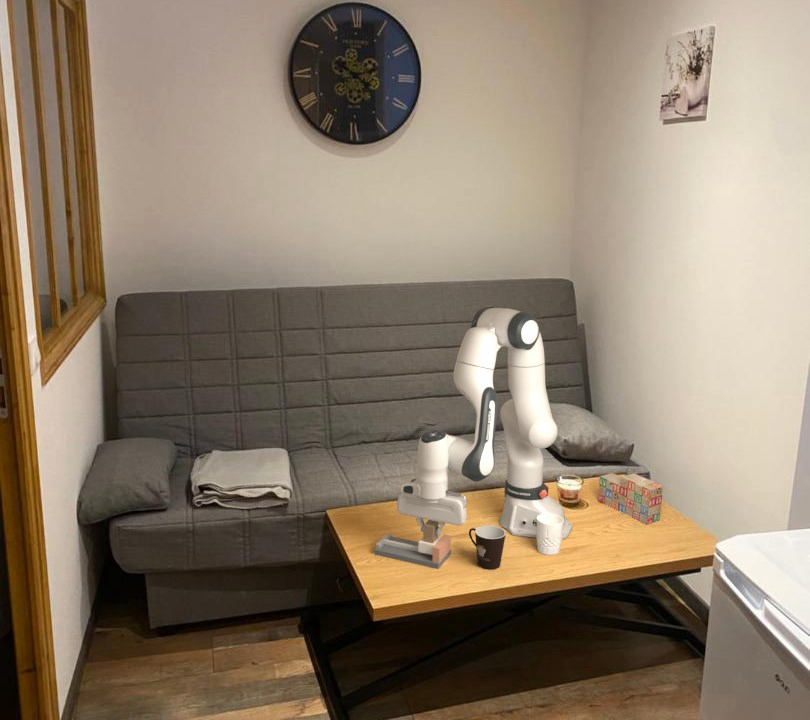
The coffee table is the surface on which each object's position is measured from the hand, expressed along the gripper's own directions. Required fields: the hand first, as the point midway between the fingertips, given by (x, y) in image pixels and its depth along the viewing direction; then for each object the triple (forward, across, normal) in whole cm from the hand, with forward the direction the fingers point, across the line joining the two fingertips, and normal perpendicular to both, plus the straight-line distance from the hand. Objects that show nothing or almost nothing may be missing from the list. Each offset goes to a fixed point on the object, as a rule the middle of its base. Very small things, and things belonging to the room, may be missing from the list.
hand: (430, 532), depth 233 cm
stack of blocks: (+8, -46, -59) cm, 75 cm away
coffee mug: (+8, -16, -5) cm, 18 cm away
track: (+8, +6, 0) cm, 10 cm away
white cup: (+8, -30, -20) cm, 37 cm away
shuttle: (+5, 0, 0) cm, 5 cm away
